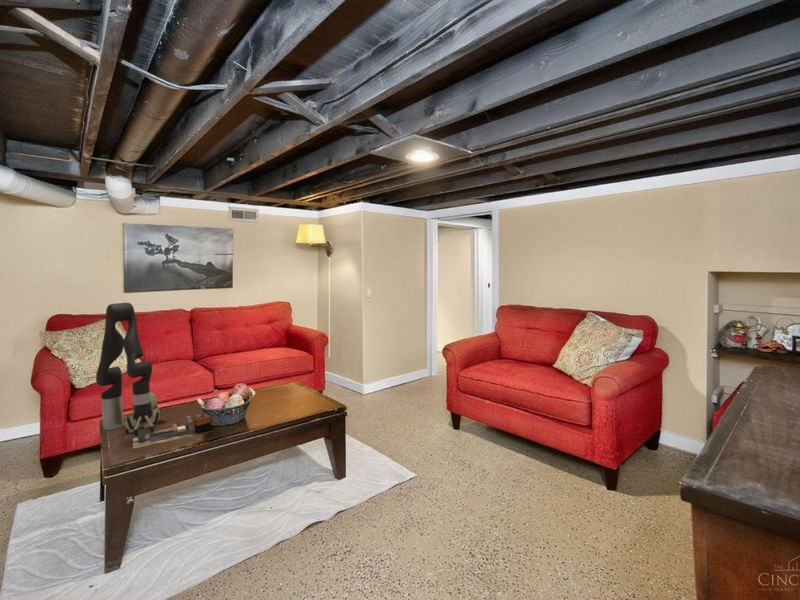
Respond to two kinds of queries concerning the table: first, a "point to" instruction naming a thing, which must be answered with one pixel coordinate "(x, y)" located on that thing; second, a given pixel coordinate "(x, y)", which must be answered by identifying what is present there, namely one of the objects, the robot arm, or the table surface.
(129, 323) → the robot arm
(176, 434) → the gauge board
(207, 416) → the battery
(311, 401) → the table surface
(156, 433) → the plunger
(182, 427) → the marker
